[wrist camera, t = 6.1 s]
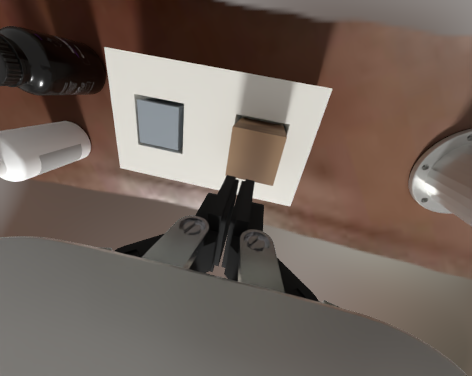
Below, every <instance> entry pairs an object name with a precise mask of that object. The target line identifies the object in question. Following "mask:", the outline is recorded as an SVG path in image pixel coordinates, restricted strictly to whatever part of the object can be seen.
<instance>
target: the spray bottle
mask: <svg viewBox="0 0 472 376" xmlns="http://www.w3.org/2000/svg"><path fill="white" fill-rule="evenodd" d="M90 151H91V143H90V140H89V138H88V136H87V134H86V133H85V132H84V130H83V129H82V128H80V127H79V126H78V125H76V124H74V123H72V122H68V121H61V122H55V123H49V124H42V125H36V126H30V127H23V128H17V129H11V130H4V131H0V177H1V178H3V179H5V180H9V181H13V182H17V181H23V180H26V179H29V178H32V177H34V176H37V175H40V174H42V173H45V172H48V171H50V170H53V169H56V168H58V167H61V166H64V165H67V164H69V163H72V162H75V161H77V160H80V159H83V158H85V157H86V156H88V155H89V153H90Z"/></svg>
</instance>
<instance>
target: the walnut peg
mask: <svg viewBox="0 0 472 376" xmlns="http://www.w3.org/2000/svg"><path fill="white" fill-rule="evenodd" d="M286 139H287V136H286V133H285V130H284V126H283V125H279V124H274V123H269V122H264V121H259V120H254V119H249V118H244V117H242V118H241V119H240V120H239V121H238V122H237V123H236V124H235V125H234V126H233V127H232V134H231V141H230V147H229V154H228V160H227V167H226V174H225V176H227V175H230V176H234V177H236V178H239V179H243V180H246V179H248V180H253V181H255V182H257V183H261V184H266V185H270V186H273V184H274V181H275V177H276V174H277V170H278V167H279V163H280V160H281V156H282V153H283V149H284V146H285V143H286Z"/></svg>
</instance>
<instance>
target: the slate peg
mask: <svg viewBox="0 0 472 376" xmlns="http://www.w3.org/2000/svg"><path fill="white" fill-rule="evenodd" d="M137 108H138V121H139V134H140V142H141V143H146V144H151V145H155V146H160V147H165V148H169V149H174V150H179V149H181V148H182V147H183V125H184V104H183V103H178V102H173V101H168V100H163V99H158V98H148V99H137Z"/></svg>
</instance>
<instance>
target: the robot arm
mask: <svg viewBox="0 0 472 376" xmlns="http://www.w3.org/2000/svg"><path fill="white" fill-rule="evenodd" d="M238 183H239V180H237V179H236V177H234V176H230V175H227V176H226V178H225V180H224V182H223V184H222V186H221V188H220V190H219V192H218V194H212V193H208V194H207V196H206V198H205V200H204V201H203V203H202V205H201V207H200V208H199V210H198V212H197V214H196V215H195V216H185V217H183V218H181V219H179V220H178V221H177V222H176V223H175V224H174V225H173V226H172V227H171V228H170V229H169V230H168V231H167V232H166V233H165V234H162V235H159V236H156V237H152V238H149V239H146V240H142V241H139V242H136V243H133V244H130V245H126V246H123V247H121V248H118V249H117V250H115V251H112V249H111V248H98V247H93V246H89V245H84V244H79V243H73V242H69V241H64V240H59V239H51V238H43V237H23V236H22V237H1V238H0V376H467V375H466V374H465V373H464V372H463V371H462V370H461V369H460V368H459V367H458V366H457V365H456V364H455V363H453V362H452V361H451V360H450V359H449V358H447V357H446V356H444V355H443V354H442V353H440V352H439V351H438V350H436V349H435V348H433V347H431V346H430V345H429V344H427V343H425V342H423V341H422V340H420V339H418V338H416V337H415V336H413V335H411V334H409V333H408V332H406V331H404V330H401V329H399V328H397V327H395V326H393V325H391V324H388V323H386V322H383V321H380V320H378V319H375V318H372V317H370V316H367V315H364V314H360V313H357V312H353V311H350V310H346V309H343V308H340V307H338V306H335V305H333V304H331V303H329V302H327V301H323V302H320V301H318V299H317V298H316V296H315V295H314V294H313V293H312V292H311V291H310V290H309V289H308V288H307V287H306V286H305V285H304V284H303V283H302V282H301V281H300V280H299V279H298V278H297V277H296V276H295V275H294V274H293V273H292V272H291V271H290V270H289V269H288V268H287V267H286V266H285V265H284V264H283V263H282V262H281V261H280V260H279V259H278V258H277V256H276V252H275V248H274V244H273V241H272V239H271V238H270V236H269V235H267V234H266V233H264V232H263V214H264V205H262V204H258V203H253V202H252V197H253V191H254V184H255V181H253V180H248V179H246V181H242V182H241V185H240V189H239V192H238V195H237V199H236V194H237V189H238ZM409 190H410V194H411V195H412V197H413V198H414V200H415V201H417V202H418V203H419V204H420V205H422V206H423V207H424V208H426V209H428V210H431V211H434V212H439V213H453V214H454V215H456V216H457V217H459V218H460V219H462V220H463V221H465V222H466V223H467V224H469V225H470V226H472V129H468V130H465V131H461V132H458V133H455V134H453V135H451V136H449V137H446V138H444V139H443V140H441V141H439V142H438V143H436V144H435V145H433V146H432V147H431V148H430V149H428V150H427V151H426V152H425V153H424V154H423V155H422V156H421V157H420V158H419V160H418V161H417V162H416V164H415V165H414V167H413V169H412V171H411V173H410V177H409ZM235 199H236V202H235ZM234 204H235V206H234ZM227 234H228V236H227ZM226 238H227V241H226ZM225 241H226V246H225V252H224V257H223V262H222V267H224V268H225V273H224V274H225V275H226V277H227V278H228V279H226V278H222V277H218V276H214V275H210V274H206V272H208V271H211V272H212V271H213V268H214V265H216V266H219V262H220V259H221V255H222V252H223V248H224V245H225Z"/></svg>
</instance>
